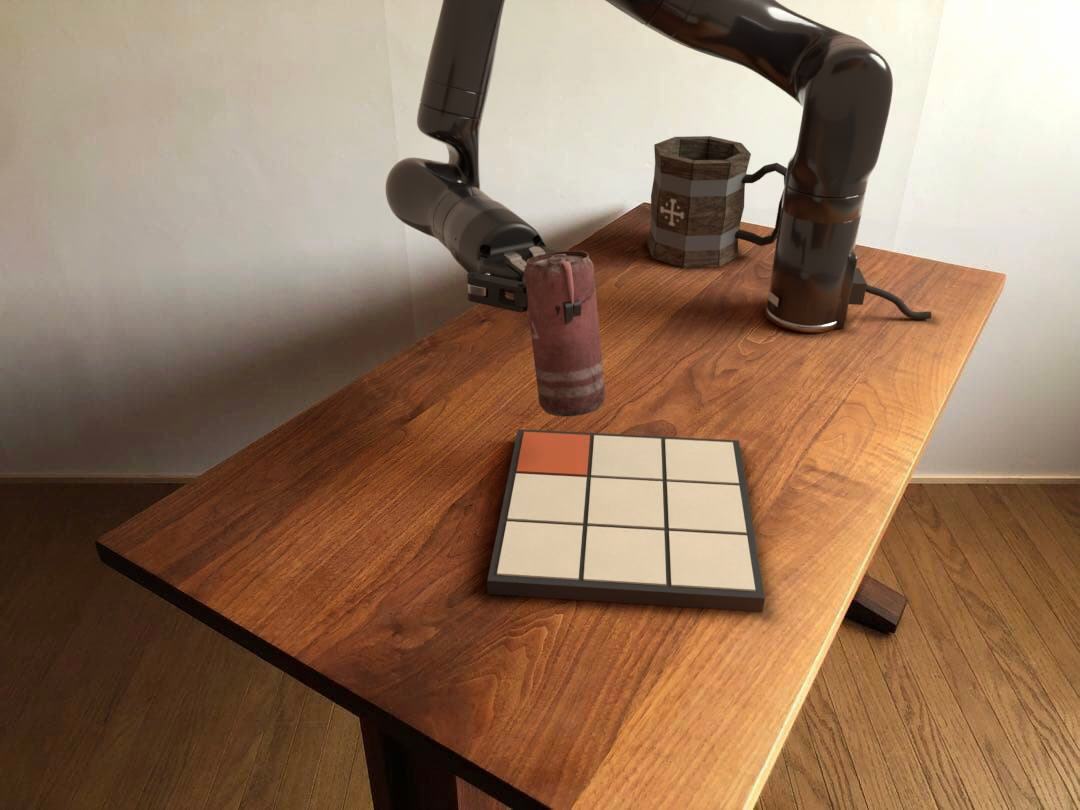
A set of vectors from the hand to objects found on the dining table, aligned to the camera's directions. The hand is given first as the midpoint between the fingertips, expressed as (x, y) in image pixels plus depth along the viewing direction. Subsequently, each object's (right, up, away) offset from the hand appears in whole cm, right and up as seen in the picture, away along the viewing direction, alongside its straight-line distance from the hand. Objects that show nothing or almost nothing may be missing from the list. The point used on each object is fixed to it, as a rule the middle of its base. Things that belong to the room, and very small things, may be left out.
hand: (573, 314), depth 78 cm
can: (0, -8, +6) cm, 10 cm away
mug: (+22, +14, +55) cm, 61 cm away
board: (+5, -18, +4) cm, 19 cm away
